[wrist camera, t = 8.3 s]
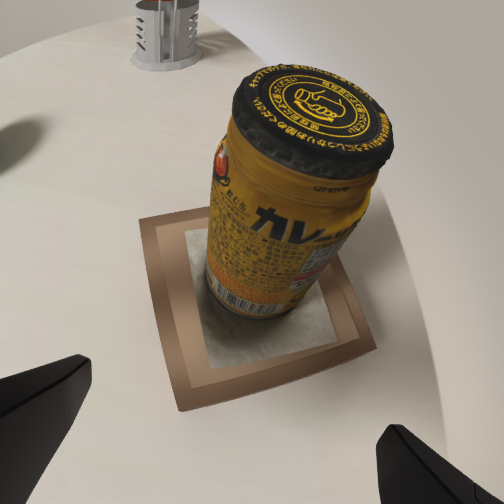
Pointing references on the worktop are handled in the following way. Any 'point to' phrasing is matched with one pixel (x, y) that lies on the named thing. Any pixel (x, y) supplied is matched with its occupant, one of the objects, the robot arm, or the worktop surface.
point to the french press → (166, 35)
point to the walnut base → (190, 330)
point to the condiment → (283, 210)
